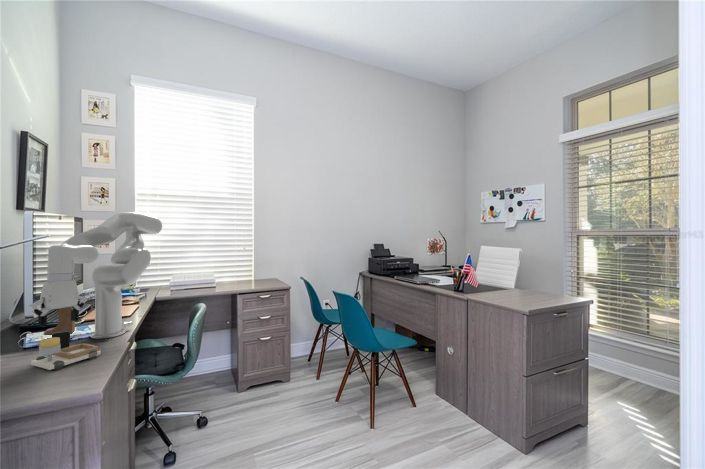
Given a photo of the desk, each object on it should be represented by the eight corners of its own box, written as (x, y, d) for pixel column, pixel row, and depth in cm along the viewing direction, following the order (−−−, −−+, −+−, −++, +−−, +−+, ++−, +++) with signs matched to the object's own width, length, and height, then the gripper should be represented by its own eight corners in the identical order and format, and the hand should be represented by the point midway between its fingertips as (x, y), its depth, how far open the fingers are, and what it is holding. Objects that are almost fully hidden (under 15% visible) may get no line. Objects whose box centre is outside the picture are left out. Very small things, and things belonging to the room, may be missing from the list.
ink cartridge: (69, 350, 123) (70, 330, 123) (69, 352, 121) (69, 331, 122) (51, 353, 120) (52, 332, 120) (51, 355, 118) (52, 333, 118)
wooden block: (43, 342, 132) (44, 299, 132) (47, 339, 136) (48, 297, 136) (71, 339, 136) (72, 297, 136) (75, 336, 140) (75, 295, 140)
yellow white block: (54, 349, 111) (54, 336, 111) (63, 351, 109) (63, 338, 109) (36, 354, 107) (36, 340, 107) (44, 356, 105) (44, 342, 105)
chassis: (82, 352, 122) (82, 338, 122) (100, 356, 118) (100, 342, 118) (30, 367, 108) (31, 352, 108) (49, 372, 104) (50, 357, 104)
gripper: (81, 275, 130) (79, 317, 129) (25, 279, 114) (23, 328, 113) (92, 276, 127) (91, 319, 127) (37, 280, 111) (35, 330, 111)
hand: (59, 323), depth 120 cm, fingers open, 9 cm apart
